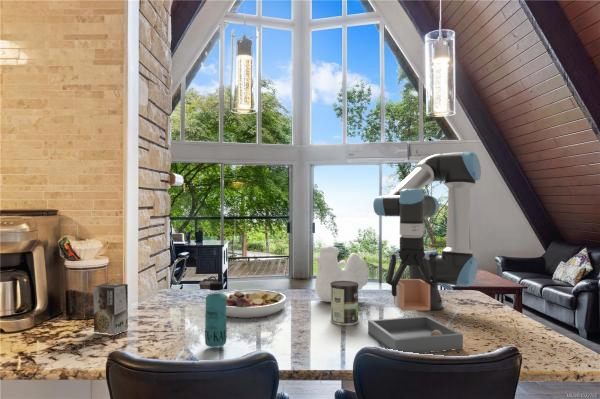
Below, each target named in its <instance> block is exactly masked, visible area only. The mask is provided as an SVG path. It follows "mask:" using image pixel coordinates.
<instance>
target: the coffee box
mask: <svg viewBox="0 0 600 399" xmlns="http://www.w3.org/2000/svg"><path fill="white" fill-rule="evenodd" d="M128 286H129V284H128V283H116V282H115V283H114V282H105V283H101V284H98V285H95V286H93V290H92V291H93V333H94V332H99V333H108V334H114V335H115V334H117V333H120V332H122V331H125V330H127V329H128V330H129V323H128V321H129V318H128V317H129V311H128V310H129V308H128V307H129V306H128V305H129V304H128V303H129V302H128V301H129V300H128V297H129V296H128V295H129V294H128V293H129V289H128Z"/></svg>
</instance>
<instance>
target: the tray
mask: <svg viewBox="0 0 600 399" xmlns="http://www.w3.org/2000/svg"><path fill="white" fill-rule="evenodd" d="M434 330H439V331H440V332H441V333H442V335H433V336H431V332H432V331H434ZM367 334H368V335H369V336H370V337H371V338H373V339H374V340H375V341H376V342H378V343H379V344H380V345H381V346H382V347H384V348H385V349H386V348H388V349H393V350H398V351H403V352H413V353H421V354H428V353H427V352H431V351H442V352H444V351H443V350H452V349H462V348H463V349H464V334H463V333H461V332H460V331H459V332H458V331H457V330H456V329H453V328H451V327H450V326H447V325H445V324H444V323H441V322H440V321H438V320H436V319H434V318H432V317H430V316H428V315H423V316H422V315H419V316H409V317H408V316H407V317H396V318H395V317H394V318H382V319H381V318H379V319H369V320H367ZM388 349H387V350H388ZM452 351H453V350H452ZM425 352H426V353H425ZM431 353H432V352H431Z"/></svg>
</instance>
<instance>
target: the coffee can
mask: <svg viewBox="0 0 600 399" xmlns="http://www.w3.org/2000/svg"><path fill="white" fill-rule="evenodd" d="M330 285H331V302H330V322H331V323H332V324H334V325H338V326H353V325H357V324H358V323H359V290H358V283H357V282H353V281H334V282H331V283H330Z"/></svg>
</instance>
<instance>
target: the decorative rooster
mask: <svg viewBox="0 0 600 399" xmlns="http://www.w3.org/2000/svg"><path fill="white" fill-rule="evenodd" d="M339 253H340V250H339V247H337V246H333V245H326V246H321V247H320V249H319V255H317V256H316V257H314V260H315V261H316V262H317V264H316V266H317V269H316V272H317V275H316V279H315V284H314V290H315V293H316V295H317V297H318V298H319V300H321V301H322V302H326V303H331V285H330V283H331V282H334V281H353V282H357V283H358V291H360V290H362V289H363V287H364V286H366V285H367V284H368V281H369V277H370V269H369V267H368V265H367V262H366V261H365V260H364V258H362V257H360V255H359V254H358V253H356V252H351V253H350V254H349V256H348V257H347V259H346V261H345V259H343V260H340V261H339V260H338V256H339ZM342 264H344V267H341V265H342Z"/></svg>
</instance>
